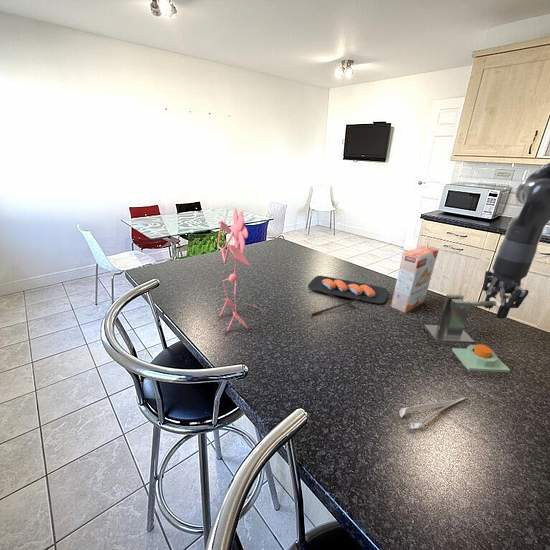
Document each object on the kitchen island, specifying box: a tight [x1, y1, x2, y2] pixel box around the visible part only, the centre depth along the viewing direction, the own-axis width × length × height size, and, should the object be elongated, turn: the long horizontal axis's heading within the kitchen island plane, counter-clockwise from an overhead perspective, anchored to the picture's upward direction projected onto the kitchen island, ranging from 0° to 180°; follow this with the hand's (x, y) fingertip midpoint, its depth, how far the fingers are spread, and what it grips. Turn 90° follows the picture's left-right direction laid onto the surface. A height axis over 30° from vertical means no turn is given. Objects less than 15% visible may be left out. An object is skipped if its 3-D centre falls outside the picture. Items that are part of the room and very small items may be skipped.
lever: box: [450, 297, 501, 309], centre depth 83 cm, size 13×5×2 cm, turn 88°
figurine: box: [216, 208, 267, 343], centre depth 87 cm, size 15×26×35 cm, turn 23°
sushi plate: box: [307, 275, 389, 316], centre depth 106 cm, size 29×30×4 cm
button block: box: [451, 344, 511, 373], centre depth 76 cm, size 10×8×4 cm
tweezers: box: [399, 396, 467, 430], centre depth 62 cm, size 18×5×2 cm, turn 112°
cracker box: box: [390, 245, 439, 314], centre depth 100 cm, size 14×6×21 cm, turn 130°
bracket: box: [423, 294, 476, 344], centre depth 85 cm, size 11×8×13 cm
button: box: [474, 343, 493, 358], centre depth 75 cm, size 4×4×2 cm
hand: (493, 312), depth 84 cm, fingers closed on lever, 5 cm apart
